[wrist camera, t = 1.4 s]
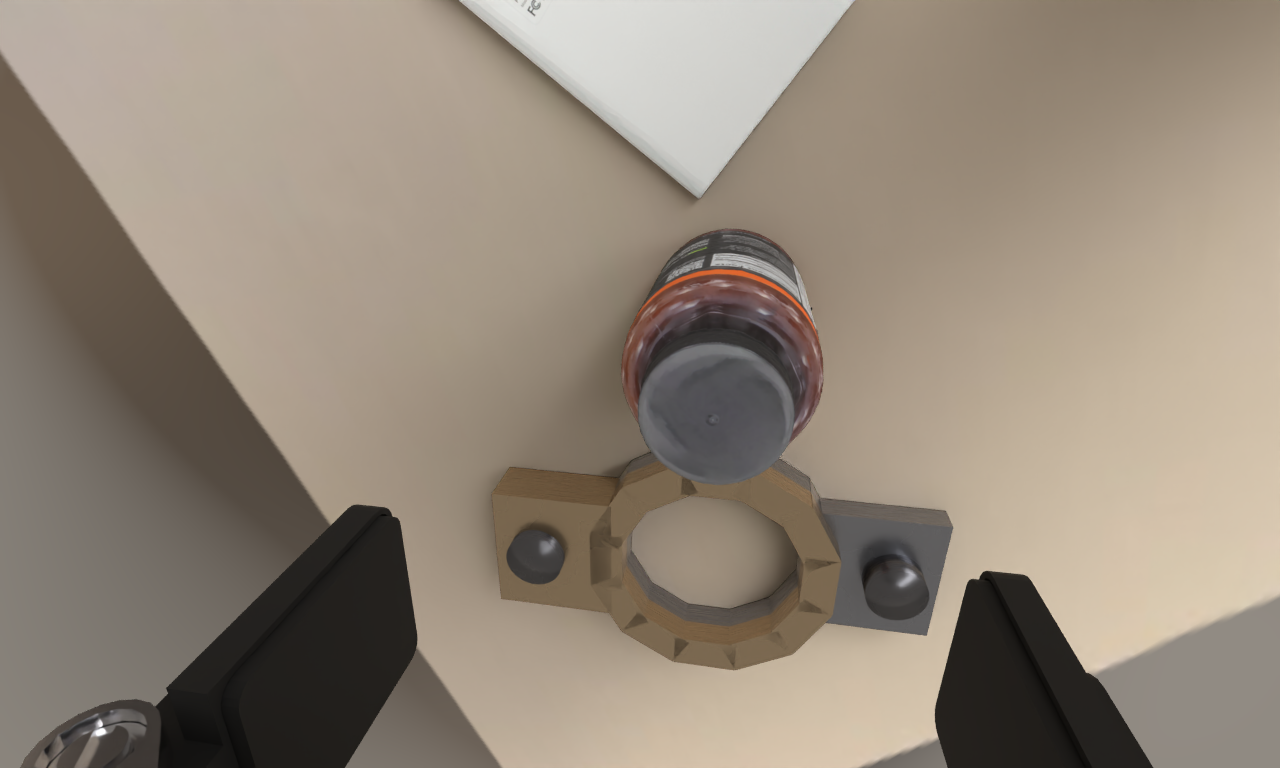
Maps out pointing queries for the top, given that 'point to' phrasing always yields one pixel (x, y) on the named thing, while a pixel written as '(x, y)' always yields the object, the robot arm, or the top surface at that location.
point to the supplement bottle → (723, 358)
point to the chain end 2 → (846, 565)
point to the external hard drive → (670, 66)
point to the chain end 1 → (601, 581)
